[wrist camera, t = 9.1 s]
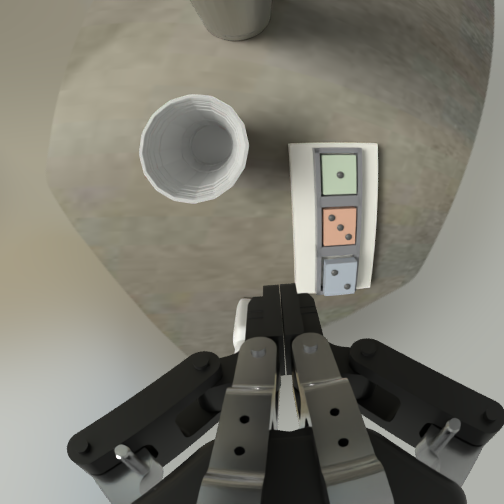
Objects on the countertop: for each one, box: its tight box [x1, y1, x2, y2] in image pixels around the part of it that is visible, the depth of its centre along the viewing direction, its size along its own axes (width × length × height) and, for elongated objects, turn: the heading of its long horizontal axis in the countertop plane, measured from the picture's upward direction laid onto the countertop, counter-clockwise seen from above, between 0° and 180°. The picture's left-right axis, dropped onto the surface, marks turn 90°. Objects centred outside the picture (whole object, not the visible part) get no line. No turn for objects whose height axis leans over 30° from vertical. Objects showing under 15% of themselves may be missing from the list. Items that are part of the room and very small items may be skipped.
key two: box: [323, 257, 357, 296], centre depth 37 cm, size 5×4×2 cm
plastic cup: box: [139, 94, 249, 204], centre depth 30 cm, size 11×11×12 cm
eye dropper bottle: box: [233, 298, 251, 353], centre depth 40 cm, size 4×6×12 cm
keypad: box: [288, 142, 378, 295], centre depth 37 cm, size 22×12×4 cm, turn 5°
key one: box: [320, 154, 356, 195], centre depth 33 cm, size 5×4×2 cm
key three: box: [322, 206, 356, 246], centre depth 36 cm, size 5×4×2 cm
